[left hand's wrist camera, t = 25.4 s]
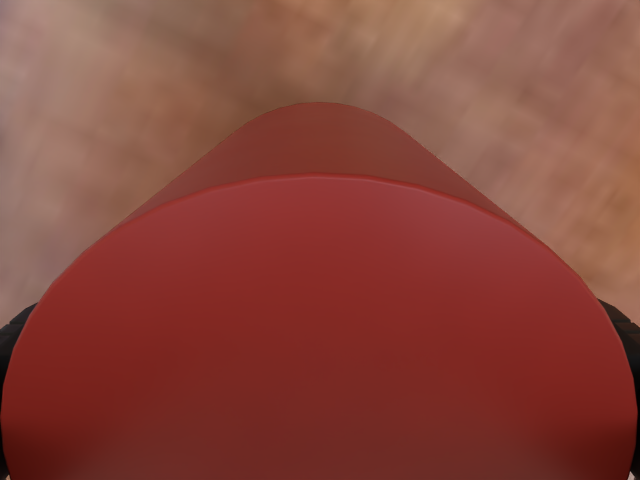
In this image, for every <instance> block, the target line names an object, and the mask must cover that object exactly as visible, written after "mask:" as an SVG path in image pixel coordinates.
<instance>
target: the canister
mask: <svg viewBox="0 0 640 480" xmlns="http://www.w3.org/2000/svg"><path fill="white" fill-rule="evenodd" d="M637 414H638V411H637V403H636V395H635V387H634V380H633V375H632V372H631V369H630V366H629V363H628V360H627V356H626V353H625V350H624V347H623V344H622V341H621V339H620V337H619V335H618V333H617V332H616V330H615V328H614V326H613V324H612V322H611V320H610V318H609V316H608V314H607V312H606V311H605V309H604V307H603V306H602V305H601V303H600V302H599V301H598V299H597V298H596V297H595V296H594V294H593V293H592V292H591V290H590V289H589V288H588V286H587V285H586V284H585V282H584V281H583V280H582V279H581V277H580V276H579V275H578V274H577V273H576V272H575V271H574V270H572V269H571V268H570V267H569V266H568V265H567V264H566V263H565V262H564V261H563V260H562V259H561V258H560V257H559V256H558V255H556V254H555V253H554V252H553V251H552V250H551V249H550V248H549V247H548V246H547V245H545V244H544V243H543V242H542V241H540V240H539V239H538V238H537V237H535V236H534V235H533V234H532V233H530V232H529V231H528V230H527V229H525V228H524V227H523V226H522V225H520V224H519V223H518V222H517V221H515V220H514V219H513V218H512V217H510V216H509V215H508V214H507V213H505V212H504V211H503V210H502V209H500V208H499V207H498V206H497V205H495V204H494V203H493V202H492V201H490V200H489V199H488V198H487V197H485V196H484V195H483V194H482V193H480V192H479V191H478V190H477V189H475V188H474V187H473V186H472V185H470V184H469V183H468V182H467V181H465V180H464V179H463V178H462V177H460V176H459V175H458V174H457V173H455V172H454V171H453V170H452V169H450V168H449V167H448V166H447V165H445V164H444V163H443V162H442V161H440V160H439V159H438V158H437V157H435V156H434V155H433V154H432V153H430V152H429V151H428V150H427V149H425V148H424V147H423V146H422V145H420V144H419V143H418V142H417V141H415V140H414V139H413V138H412V137H410V136H409V135H408V134H407V133H405V132H404V131H403V130H401V129H400V128H398V127H397V126H396V125H394V124H393V123H391V122H390V121H388V120H386V119H384V118H382V117H380V116H378V115H376V114H374V113H372V112H369V111H366V110H363V109H360V108H357V107H353V106H348V105H343V104H338V103H323V102H314V103H302V104H295V105H291V106H286V107H282V108H279V109H276V110H273V111H271V112H268V113H265V114H263V115H261V116H259V117H257V118H255V119H253V120H252V121H250V122H248V123H246V124H245V125H243V126H242V127H241V128H239V129H238V130H237V131H235V132H234V133H233V134H231V135H230V136H229V137H227V138H226V139H225V140H224V141H222V142H221V143H220V144H219V145H217V146H216V147H215V148H214V149H212V150H211V151H210V152H209V153H207V154H206V155H205V156H204V157H202V158H201V159H200V160H198V161H197V162H196V163H195V164H193V165H192V166H191V167H190V168H188V169H187V170H186V171H185V172H183V173H182V174H181V175H180V176H178V177H177V178H176V179H175V180H173V181H172V182H171V183H170V184H168V185H167V186H166V187H164V188H163V189H162V190H161V191H159V192H158V193H157V194H156V195H154V196H153V197H152V198H151V199H149V200H148V201H147V202H146V203H144V204H143V205H142V206H141V207H139V208H138V209H137V210H135V211H134V212H133V213H132V214H130V215H129V216H128V217H127V218H125V219H124V220H123V221H122V222H120V223H119V224H118V225H117V226H115V227H114V228H113V229H112V230H110V231H109V232H108V233H106V234H105V235H104V236H103V237H101V238H100V239H99V240H98V241H96V242H95V243H94V244H93V245H91V246H90V247H89V248H88V249H86V250H85V251H84V252H83V253H82V254H81V255H80V256H79V257H78V258H77V259H76V260H75V261H74V262H73V263H72V264H71V265H70V266H69V267H68V268H67V269H66V270H65V271H64V272H63V273H62V274H61V275H60V276H59V277H58V278H57V279H56V280H55V281H54V282H53V283H52V284H51V285H50V287H49V288H48V290H47V291H46V292H45V294H44V295H43V297H42V298H41V299H40V301H39V302H38V304H37V305H36V306H35V308H34V309H33V311H32V312H31V313H30V315H29V317H28V319H27V321H26V323H25V325H24V327H23V329H22V331H21V334H20V336H19V338H18V340H17V342H16V344H15V346H14V348H13V352H12V355H11V359H10V362H9V366H8V370H7V373H6V377H5V380H4V384H3V394H2V405H1V415H0V421H1V433H2V445H3V452H4V456H5V460H6V464H7V468H8V472H9V476H10V480H627V479H628V477H629V474H630V469H631V465H632V460H633V456H634V451H635V447H636V434H637Z"/></svg>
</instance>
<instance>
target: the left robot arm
mask: <svg viewBox="0 0 640 480" xmlns="http://www.w3.org/2000/svg"><path fill="white" fill-rule="evenodd" d="M597 299H598V298H597ZM598 301H599V302H600V303H601V305H602V306H603V307H604V309H605V311H606V312H607V314H608V316H609V318H610V320H611V322H612V324H613V326H614V328H615V330H616V332H617V333H618V335H619V337H620V339H621V341H622V344H623V347H624V350H625V353H626V356H627V360H628V363H629V366H630V369H631V372H632V375H633V380H634V387H635V395H636V403H637V411H638V414H637V434H636V447H635V451H634V456H633V460H632V465H631V469H630V471H631V473H632V474H633V475H634V476H635V478H634V480H640V327H638V326H637V325H636V324H635V323H631V322H630V319H629V318H627V317H626V316H625V315H624V314H623V313H621V312H620V311H619V310H618V309H617V308H615V307H614V306H612V305H610V304H608V303H606V302H604V301H602V300H600V299H598ZM37 304H38V303H36V304H34V305H32V306H30V307H28V308H26V309H24V310H23V311H22V312H21V313H20V314H18V315H17V316H16V317H15V318H14V319H12V320H11V321H10V324H6V325H5V326H4V327H3V328H2V329H0V415H1V405H2V394H3V384H4V380H5V377H6V373H7V370H8V366H9V362H10V359H11V355H12V352H13V348H14V346H15V344H16V342H17V340H18V338H19V336H20V334H21V331H22V329H23V327H24V325H25V323H26V321H27V319H28V317H29V315H30V313H31V312H32V311H33V309H34V308H35V306H36V305H37ZM8 475H9V472H8V468H7V464H6V460H5V456H4V452H3V445H2V433H1V421H0V480H6V477H7V476H8Z"/></svg>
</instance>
